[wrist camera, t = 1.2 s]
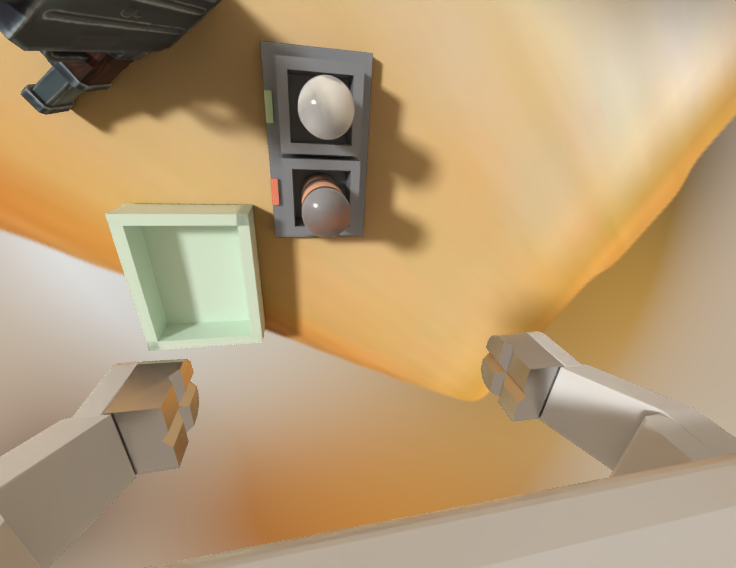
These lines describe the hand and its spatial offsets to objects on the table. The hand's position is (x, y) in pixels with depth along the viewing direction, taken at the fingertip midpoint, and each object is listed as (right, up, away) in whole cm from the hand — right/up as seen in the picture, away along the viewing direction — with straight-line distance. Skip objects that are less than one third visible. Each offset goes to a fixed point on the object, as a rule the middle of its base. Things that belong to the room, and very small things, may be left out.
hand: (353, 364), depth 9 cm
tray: (-17, +4, +25) cm, 30 cm away
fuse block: (-4, +15, +21) cm, 26 cm away
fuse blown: (-4, +11, +22) cm, 25 cm away
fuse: (-4, +17, +19) cm, 26 cm away
